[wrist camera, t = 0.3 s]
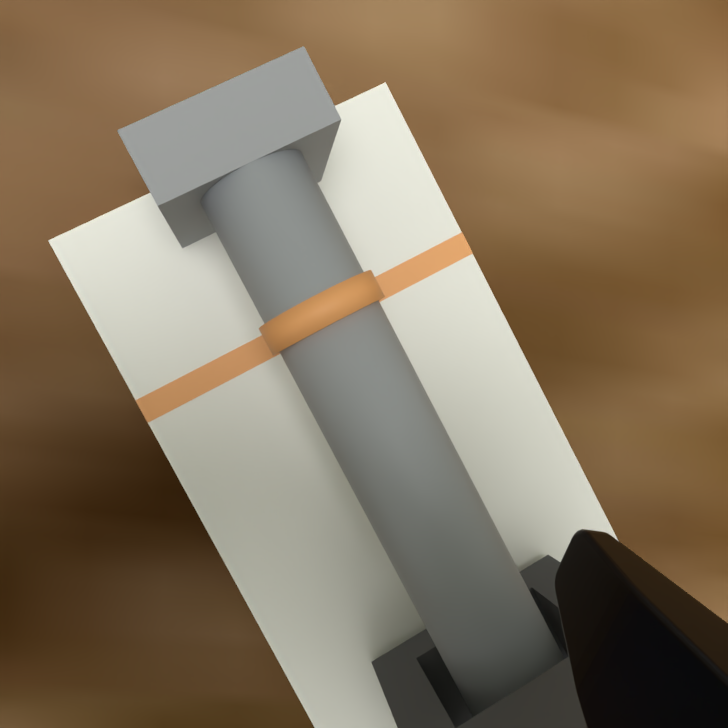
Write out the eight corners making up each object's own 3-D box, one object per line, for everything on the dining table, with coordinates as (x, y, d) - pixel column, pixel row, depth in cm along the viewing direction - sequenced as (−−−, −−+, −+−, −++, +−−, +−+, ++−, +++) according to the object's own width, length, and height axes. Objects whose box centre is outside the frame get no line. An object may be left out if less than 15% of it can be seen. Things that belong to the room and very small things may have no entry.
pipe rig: (704, 731, 25) (862, 856, 19) (425, 920, 24) (491, 1132, 17) (380, 94, 24) (427, -13, 17) (57, 246, 22) (-28, 191, 16)
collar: (587, 631, 23) (775, 776, 15) (414, 741, 22) (509, 964, 14) (548, 554, 23) (714, 657, 15) (371, 661, 22) (441, 837, 14)
